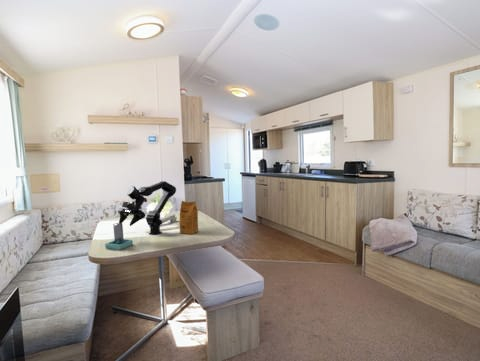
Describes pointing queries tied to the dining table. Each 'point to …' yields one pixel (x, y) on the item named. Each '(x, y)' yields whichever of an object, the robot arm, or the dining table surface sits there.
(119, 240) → the block
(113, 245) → the tray
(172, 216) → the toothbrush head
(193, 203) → the coffee package
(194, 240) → the dining table surface
